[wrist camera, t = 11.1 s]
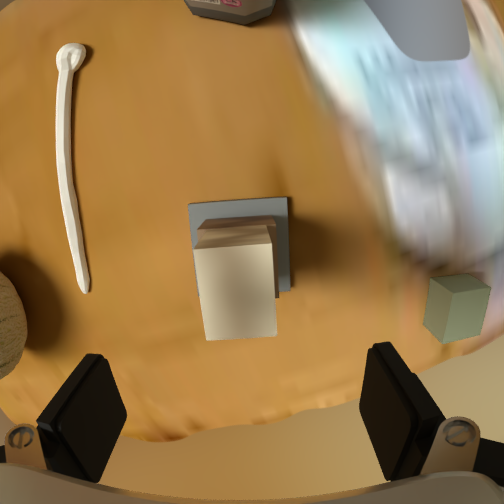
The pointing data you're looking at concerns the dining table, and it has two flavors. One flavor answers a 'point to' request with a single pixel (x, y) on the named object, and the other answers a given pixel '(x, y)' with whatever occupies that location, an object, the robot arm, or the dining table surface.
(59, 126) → the knobbed tapering rod
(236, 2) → the liquor
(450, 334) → the olive block
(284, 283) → the slate board
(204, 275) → the birch block
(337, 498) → the robot arm
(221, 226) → the walnut block
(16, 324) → the cantaloupe
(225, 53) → the dining table surface
